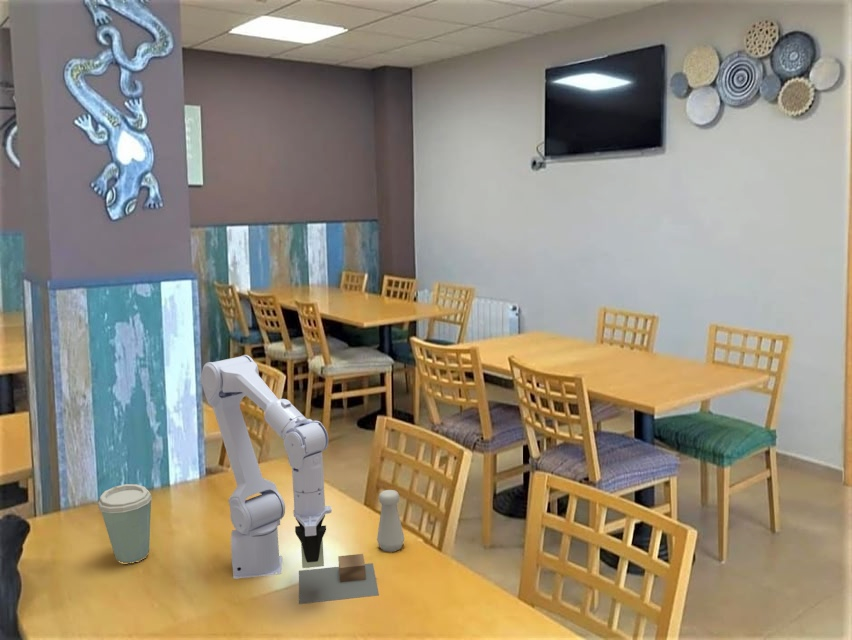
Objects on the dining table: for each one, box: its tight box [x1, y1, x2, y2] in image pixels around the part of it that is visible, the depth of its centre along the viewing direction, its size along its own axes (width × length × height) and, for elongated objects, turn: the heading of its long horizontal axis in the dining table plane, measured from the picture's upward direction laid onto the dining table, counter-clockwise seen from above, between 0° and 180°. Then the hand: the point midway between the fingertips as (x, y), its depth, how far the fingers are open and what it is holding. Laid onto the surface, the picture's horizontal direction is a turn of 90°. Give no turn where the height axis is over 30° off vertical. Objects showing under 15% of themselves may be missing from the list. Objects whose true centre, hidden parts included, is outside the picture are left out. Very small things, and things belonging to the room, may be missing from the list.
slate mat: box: [298, 562, 380, 605], centre depth 151 cm, size 15×13×1 cm
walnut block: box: [337, 553, 366, 582], centre depth 154 cm, size 5×5×3 cm
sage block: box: [300, 537, 325, 569], centre depth 146 cm, size 4×4×4 cm
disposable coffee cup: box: [97, 483, 153, 563], centre depth 164 cm, size 11×11×15 cm
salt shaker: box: [376, 489, 405, 553], centre depth 165 cm, size 6×6×13 cm
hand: (312, 555), depth 146 cm, fingers closed on sage block, 4 cm apart
